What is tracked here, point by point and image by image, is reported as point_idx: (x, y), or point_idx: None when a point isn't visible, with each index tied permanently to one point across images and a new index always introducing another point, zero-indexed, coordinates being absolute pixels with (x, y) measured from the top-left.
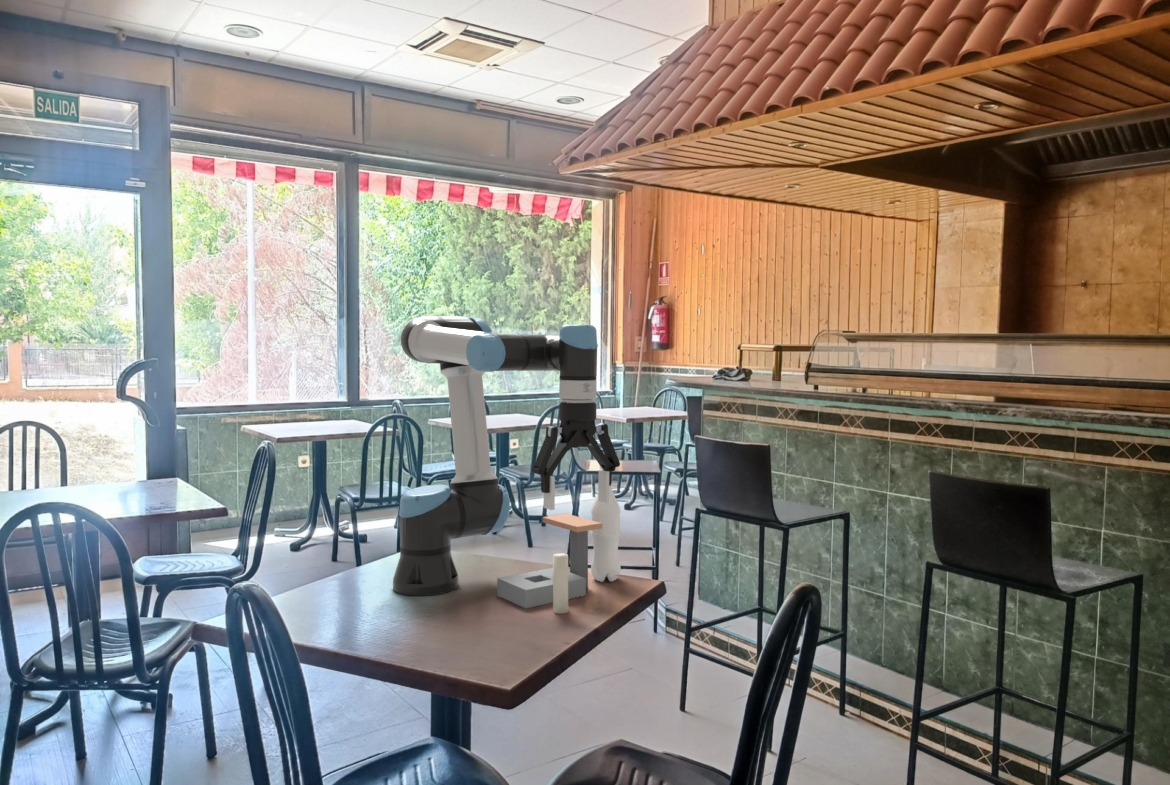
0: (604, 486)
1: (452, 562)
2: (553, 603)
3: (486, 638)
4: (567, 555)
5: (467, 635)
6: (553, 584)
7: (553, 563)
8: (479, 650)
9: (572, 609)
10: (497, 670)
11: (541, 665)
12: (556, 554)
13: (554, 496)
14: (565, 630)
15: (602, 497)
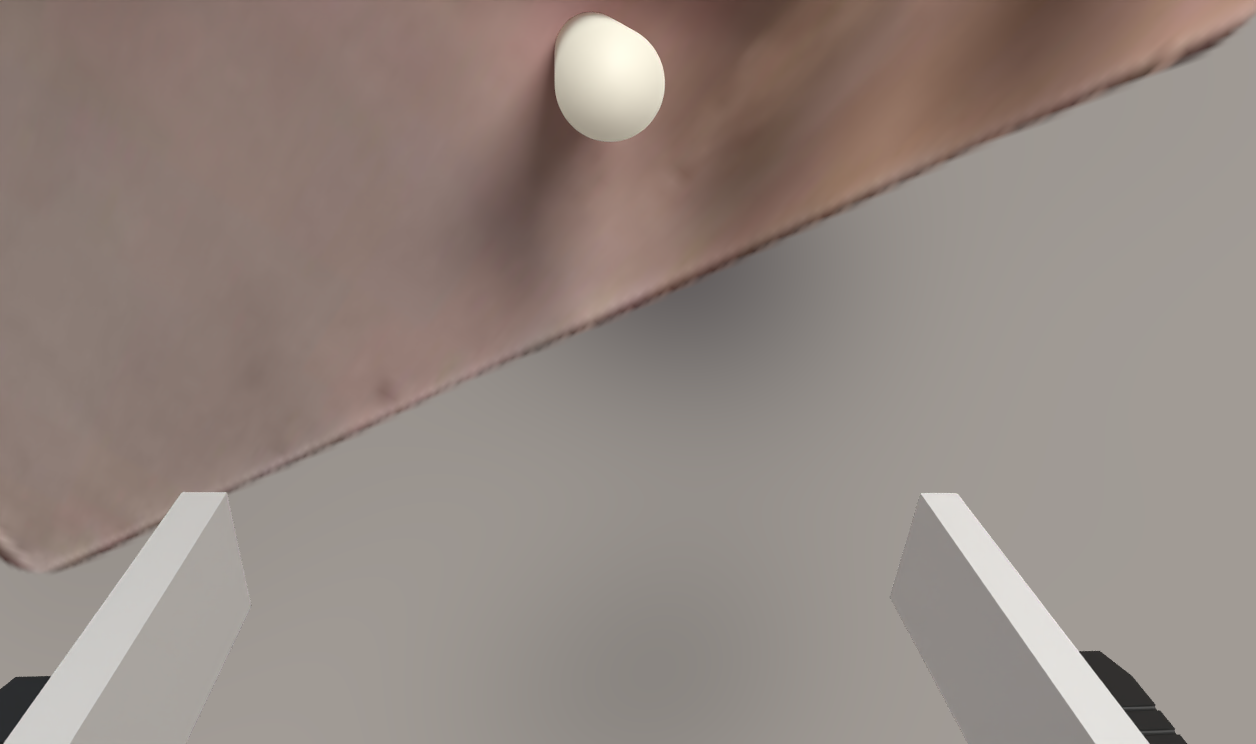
0: (972, 715)
1: None
2: (556, 42)
3: (102, 159)
4: (643, 125)
5: (24, 65)
6: (556, 50)
7: (556, 63)
8: (30, 264)
9: None
10: (42, 456)
11: None
12: (600, 45)
13: (192, 726)
14: (455, 283)
15: (923, 583)
